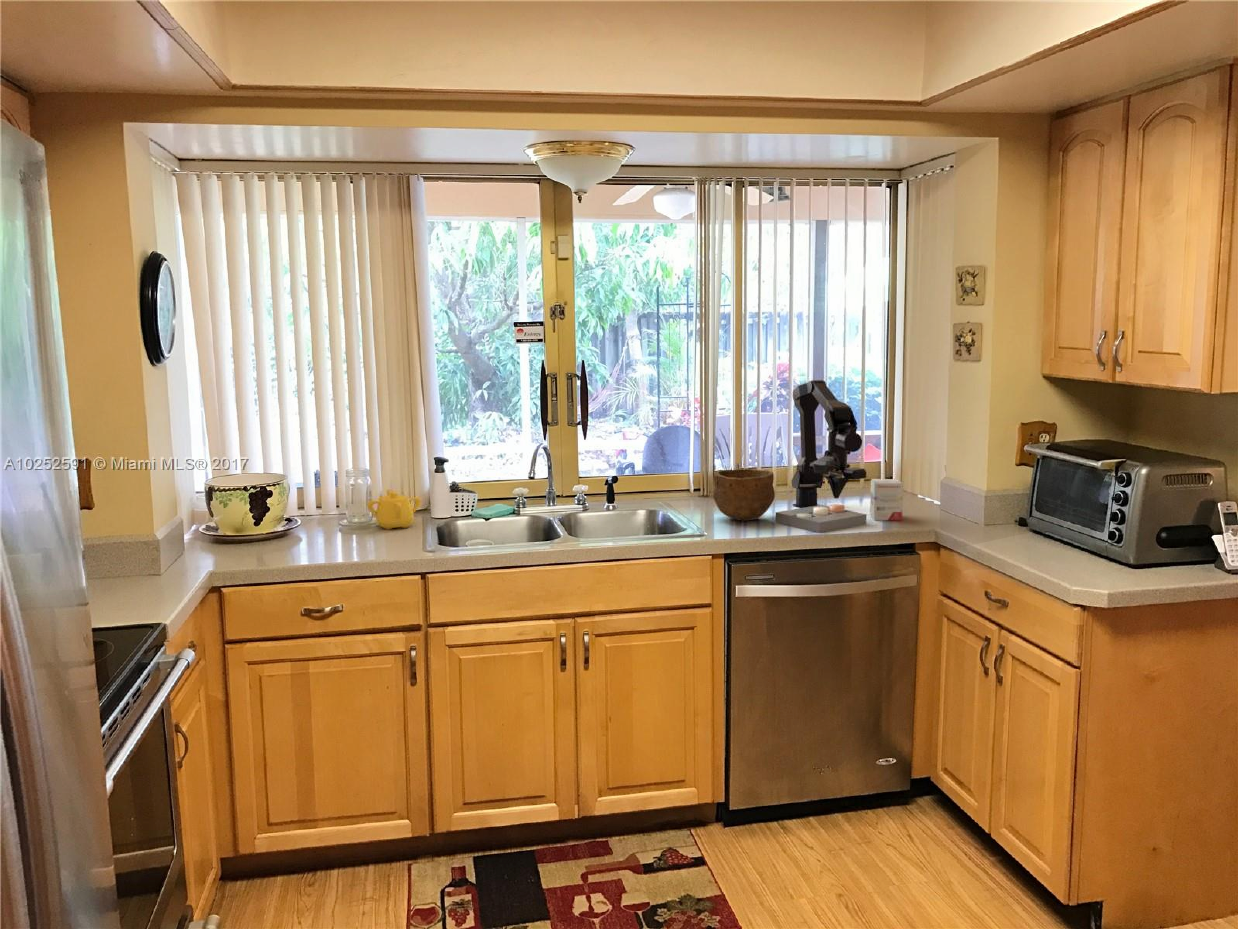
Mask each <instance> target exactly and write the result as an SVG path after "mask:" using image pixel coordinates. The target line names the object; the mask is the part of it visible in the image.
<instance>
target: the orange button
mask: <svg viewBox="0 0 1238 929" xmlns="http://www.w3.org/2000/svg"><path fill="white" fill-rule="evenodd" d="M829 506H830V512H835V513H841V512H845V510H846V509H845V505H843V504H839V503H838V504H835V503H833V504H829Z"/></svg>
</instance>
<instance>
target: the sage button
mask: <svg viewBox="0 0 1238 929" xmlns="http://www.w3.org/2000/svg"><path fill="white" fill-rule="evenodd" d="M797 517H799V518H803V519H805V518H811V517H812V515H811V514H806V513H800V514H797Z"/></svg>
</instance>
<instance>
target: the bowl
mask: <svg viewBox="0 0 1238 929" xmlns="http://www.w3.org/2000/svg"><path fill="white" fill-rule="evenodd" d="M774 477H775V476H774V471H770V470H765V469H764V470H761V469H756V468H755V469H754V468H736V469H730V470H729V469H724V470H723V469H717V470H716V471H714V472H713V487H712V499H713V501H714V503H715V505H716V507H717V508H718V510H719V511H720V512H721V513H722V514H723V515H725V516H727V517H728V518H731V519H733V520H738V521H750V520H751V521H752V520H755V519H758V518H760V517H762V516H763V515H764V514H765V513H766V512H768V510H769V508H770V507H771V505H772V504H773V502H774V501H775V497H776V494H775V488H774V479H775V478H774Z"/></svg>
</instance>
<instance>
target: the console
mask: <svg viewBox="0 0 1238 929" xmlns="http://www.w3.org/2000/svg"><path fill="white" fill-rule="evenodd" d="M814 507H826V508H828V515H823V516H819V515H815V514H813V509H814ZM800 513H806V514H811V515H812V517H811V518H805V519H803V518H799V517H797V514H800ZM774 518H775V521H774V522H775V523H778V524H783V525H786V526H791V527H795V528H798V529H802V530H807V531H811V532H814V531H816V532H815V533H818V532H820V533H823V532H822V531H826V532H829V531H836V530H837V531H838V530H842V529H848V528H852V527H858V526H864V524H865V525H867V513H866V514H865V513H862V512H858V511H857V512H856V511H853V510H848V509H845V512H841V513H835V512H830V505H826V504H825V505H824V504H818V506H812V507H806V508H802V507H798V508H793V509H787V510H780V511H775V517H774Z"/></svg>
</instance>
